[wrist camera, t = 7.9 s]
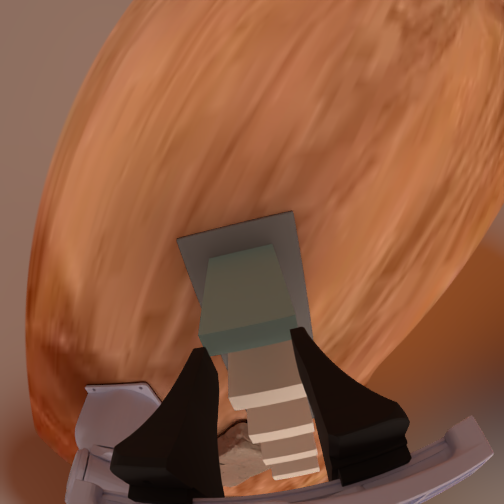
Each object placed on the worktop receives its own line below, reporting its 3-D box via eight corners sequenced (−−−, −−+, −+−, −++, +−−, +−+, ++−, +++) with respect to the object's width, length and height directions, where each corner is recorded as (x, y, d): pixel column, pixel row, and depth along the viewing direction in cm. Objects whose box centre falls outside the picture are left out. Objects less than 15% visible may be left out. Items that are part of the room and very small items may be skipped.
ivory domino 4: (267, 420, 32) (274, 480, 24) (264, 414, 31) (272, 476, 23) (305, 411, 32) (319, 471, 24) (304, 405, 31) (319, 467, 23)
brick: (238, 419, 32) (239, 450, 27) (290, 431, 34) (294, 459, 30) (185, 456, 37) (184, 480, 33) (230, 467, 39) (230, 489, 35)
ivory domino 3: (258, 397, 30) (265, 465, 22) (255, 389, 29) (262, 459, 21) (301, 388, 30) (317, 454, 21) (299, 380, 29) (316, 449, 21)
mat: (255, 428, 33) (255, 430, 33) (176, 238, 22) (176, 239, 21) (321, 414, 33) (321, 416, 33) (292, 210, 21) (293, 211, 21)
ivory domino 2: (246, 367, 27) (252, 443, 19) (243, 357, 27) (248, 435, 19) (295, 357, 27) (314, 431, 19) (293, 346, 27) (313, 422, 18)
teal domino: (214, 276, 23) (207, 356, 15) (209, 258, 22) (198, 335, 14) (276, 261, 23) (299, 337, 15) (272, 243, 22) (295, 314, 14)
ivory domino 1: (232, 328, 25) (234, 410, 17) (227, 314, 25) (228, 397, 16) (287, 316, 25) (309, 395, 17) (284, 302, 24) (307, 382, 16)
